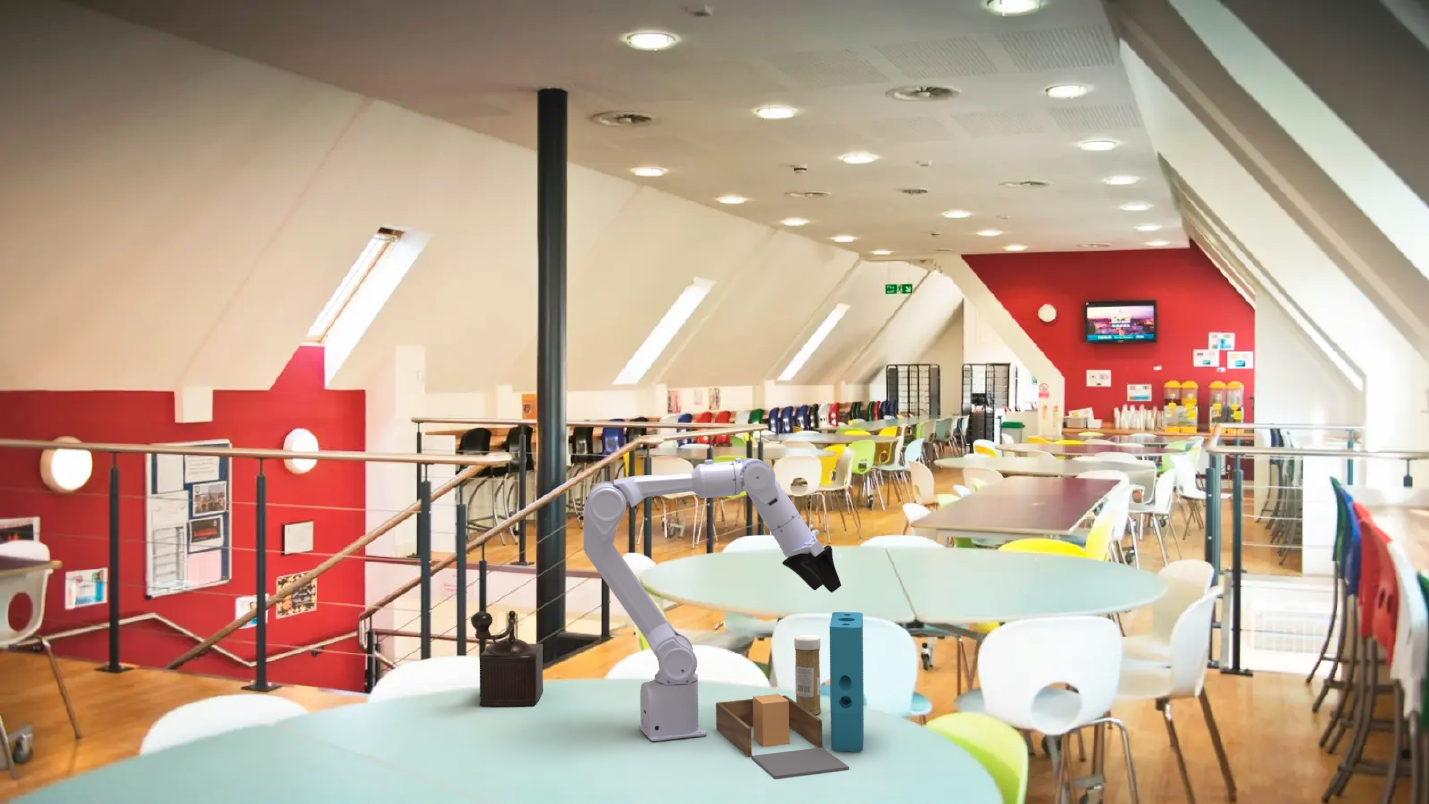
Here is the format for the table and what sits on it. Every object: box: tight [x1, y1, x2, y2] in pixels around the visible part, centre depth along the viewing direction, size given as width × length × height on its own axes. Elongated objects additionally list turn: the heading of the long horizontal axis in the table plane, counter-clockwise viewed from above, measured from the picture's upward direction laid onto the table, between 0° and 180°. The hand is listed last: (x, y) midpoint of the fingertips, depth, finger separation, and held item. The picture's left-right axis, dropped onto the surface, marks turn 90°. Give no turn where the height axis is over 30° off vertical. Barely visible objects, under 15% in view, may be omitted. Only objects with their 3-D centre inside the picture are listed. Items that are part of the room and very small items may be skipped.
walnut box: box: [715, 694, 823, 758], centre depth 192 cm, size 13×16×4 cm
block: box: [829, 611, 865, 753], centre depth 189 cm, size 12×5×20 cm, turn 172°
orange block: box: [752, 693, 790, 748], centre depth 190 cm, size 4×4×7 cm
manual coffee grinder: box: [470, 610, 544, 708], centre depth 215 cm, size 16×11×18 cm
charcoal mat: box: [750, 746, 850, 780], centre depth 179 cm, size 12×10×1 cm
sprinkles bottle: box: [793, 634, 822, 716], centre depth 206 cm, size 5×5×14 cm
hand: (827, 588), depth 198 cm, fingers open, 7 cm apart
